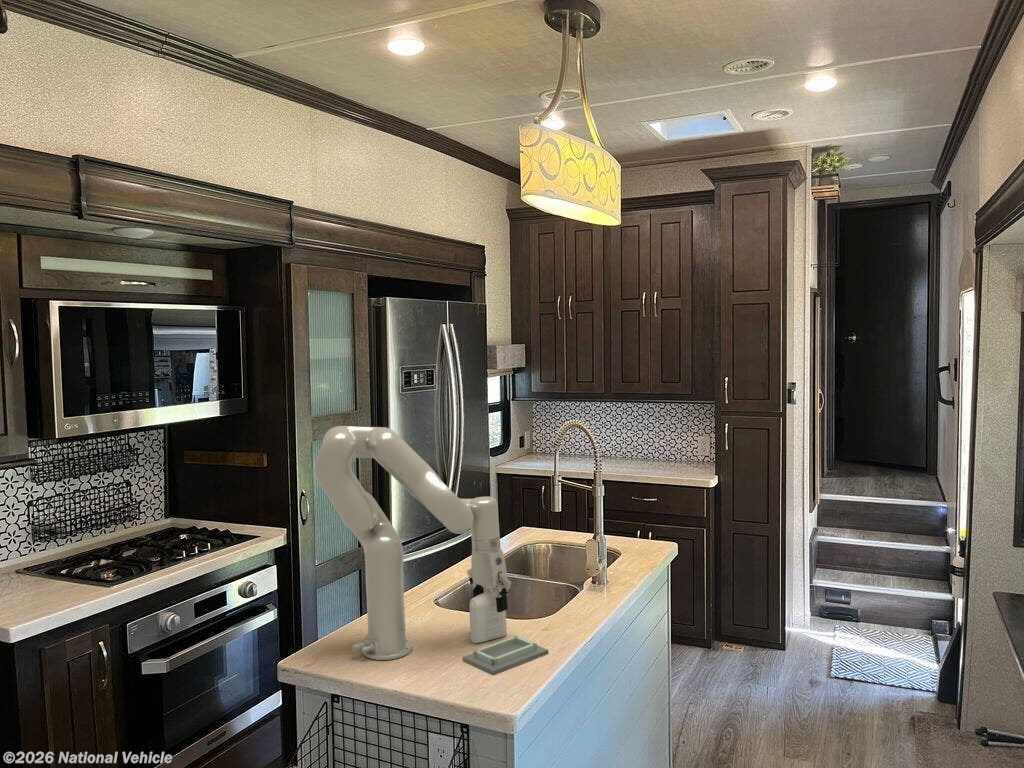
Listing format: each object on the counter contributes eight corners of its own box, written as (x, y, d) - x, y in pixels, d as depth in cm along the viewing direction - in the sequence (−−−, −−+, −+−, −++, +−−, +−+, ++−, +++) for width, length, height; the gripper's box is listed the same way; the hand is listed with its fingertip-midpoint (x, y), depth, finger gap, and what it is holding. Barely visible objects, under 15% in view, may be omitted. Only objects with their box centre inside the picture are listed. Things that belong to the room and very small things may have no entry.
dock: (493, 675, 186) (492, 664, 186) (462, 660, 195) (462, 650, 195) (548, 653, 198) (548, 643, 197) (517, 641, 207) (516, 631, 207)
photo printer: (500, 631, 214) (499, 587, 213) (509, 636, 210) (507, 590, 210) (468, 640, 208) (466, 594, 208) (476, 645, 205) (474, 598, 204)
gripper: (518, 545, 204) (522, 610, 205) (477, 536, 217) (481, 596, 218) (495, 552, 199) (500, 618, 200) (455, 541, 212) (460, 603, 213)
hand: (490, 606), depth 209 cm, fingers open, 9 cm apart
